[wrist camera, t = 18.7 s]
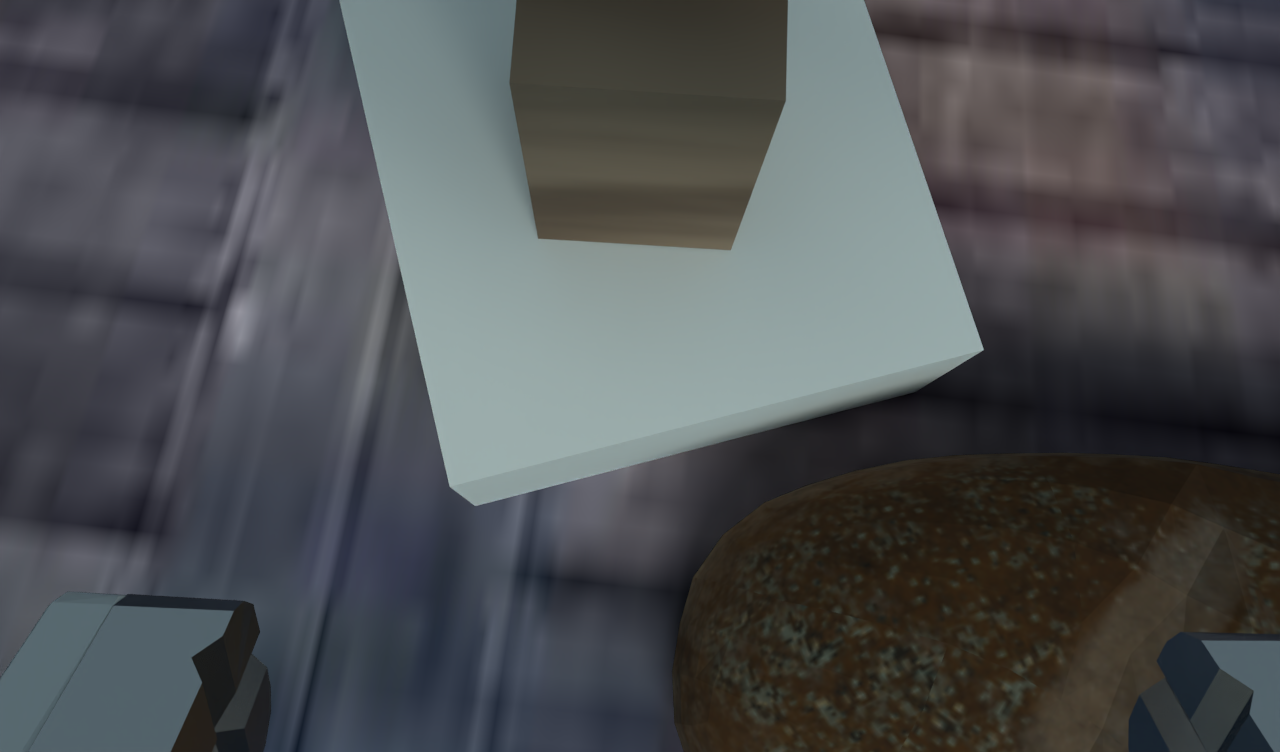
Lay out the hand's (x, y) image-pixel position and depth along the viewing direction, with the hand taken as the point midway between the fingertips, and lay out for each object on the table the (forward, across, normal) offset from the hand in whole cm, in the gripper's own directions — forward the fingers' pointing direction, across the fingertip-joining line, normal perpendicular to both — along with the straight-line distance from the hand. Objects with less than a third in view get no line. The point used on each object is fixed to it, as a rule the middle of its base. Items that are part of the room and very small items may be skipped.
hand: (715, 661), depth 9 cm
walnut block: (+19, 0, +2) cm, 19 cm away
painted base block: (+23, 0, +7) cm, 24 cm away
